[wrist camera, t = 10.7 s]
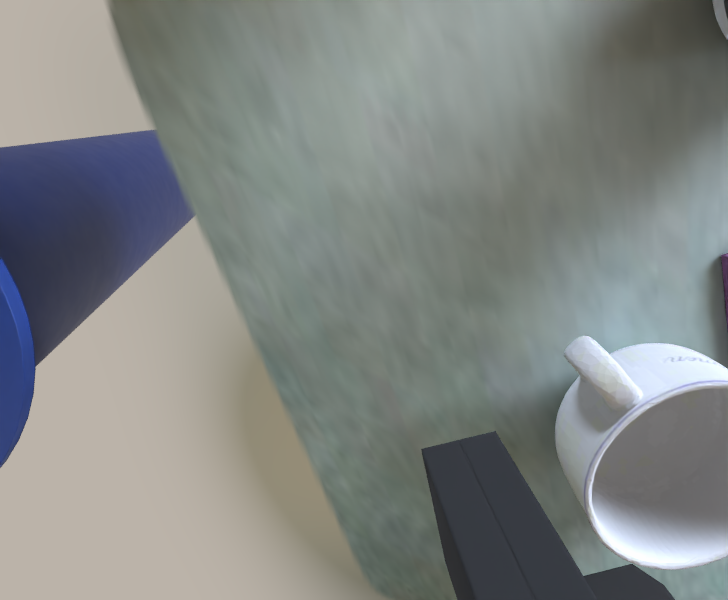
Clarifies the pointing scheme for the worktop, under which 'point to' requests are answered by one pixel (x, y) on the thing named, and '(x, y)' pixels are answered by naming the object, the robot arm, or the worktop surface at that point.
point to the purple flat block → (725, 281)
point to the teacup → (648, 451)
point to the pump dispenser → (722, 15)
